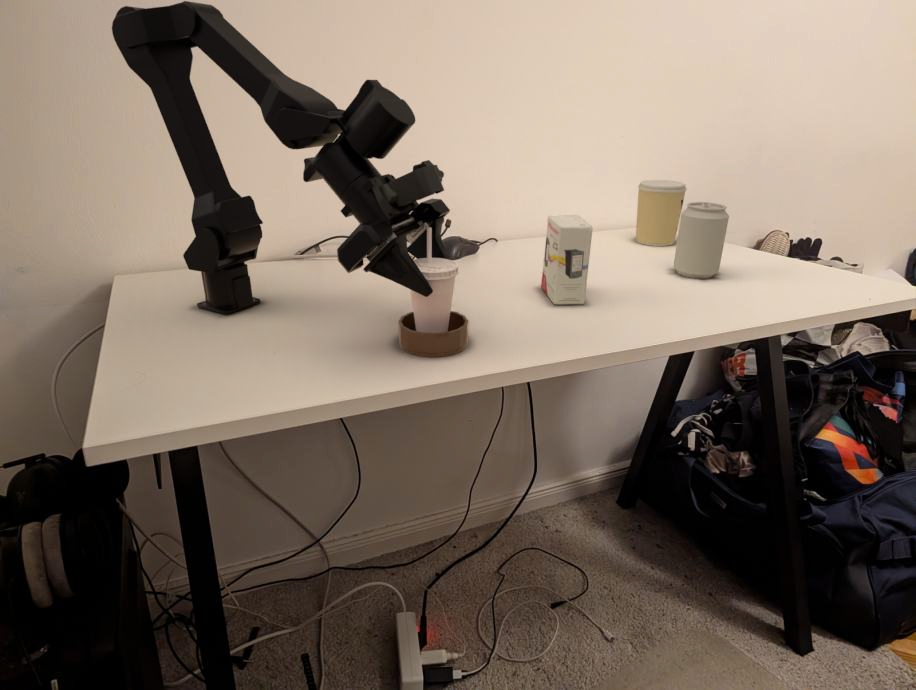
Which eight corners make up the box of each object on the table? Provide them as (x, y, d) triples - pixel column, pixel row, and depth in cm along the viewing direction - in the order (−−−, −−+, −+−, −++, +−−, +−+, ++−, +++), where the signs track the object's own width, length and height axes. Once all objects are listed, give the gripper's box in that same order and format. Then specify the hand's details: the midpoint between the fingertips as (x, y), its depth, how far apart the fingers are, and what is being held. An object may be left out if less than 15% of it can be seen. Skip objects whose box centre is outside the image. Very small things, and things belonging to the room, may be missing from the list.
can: (672, 277, 103) (683, 206, 99) (672, 266, 110) (682, 199, 105) (719, 281, 101) (733, 209, 97) (716, 269, 108) (728, 201, 103)
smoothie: (435, 325, 80) (436, 220, 75) (467, 340, 76) (471, 229, 70) (396, 337, 77) (393, 227, 71) (427, 353, 72) (427, 237, 67)
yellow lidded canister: (687, 245, 124) (696, 185, 119) (646, 248, 122) (655, 187, 117) (661, 235, 132) (669, 179, 128) (623, 237, 130) (630, 180, 125)
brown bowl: (385, 347, 75) (384, 324, 74) (424, 325, 82) (423, 304, 81) (444, 362, 71) (444, 339, 70) (479, 338, 78) (480, 316, 77)
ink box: (540, 288, 97) (545, 214, 93) (571, 287, 98) (577, 213, 93) (553, 306, 89) (559, 226, 85) (586, 305, 90) (594, 226, 85)
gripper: (355, 145, 60) (454, 266, 61) (436, 132, 76) (514, 229, 76) (297, 216, 66) (388, 326, 67) (383, 191, 82) (456, 280, 82)
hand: (442, 286), depth 73 cm, fingers closed on smoothie, 6 cm apart
